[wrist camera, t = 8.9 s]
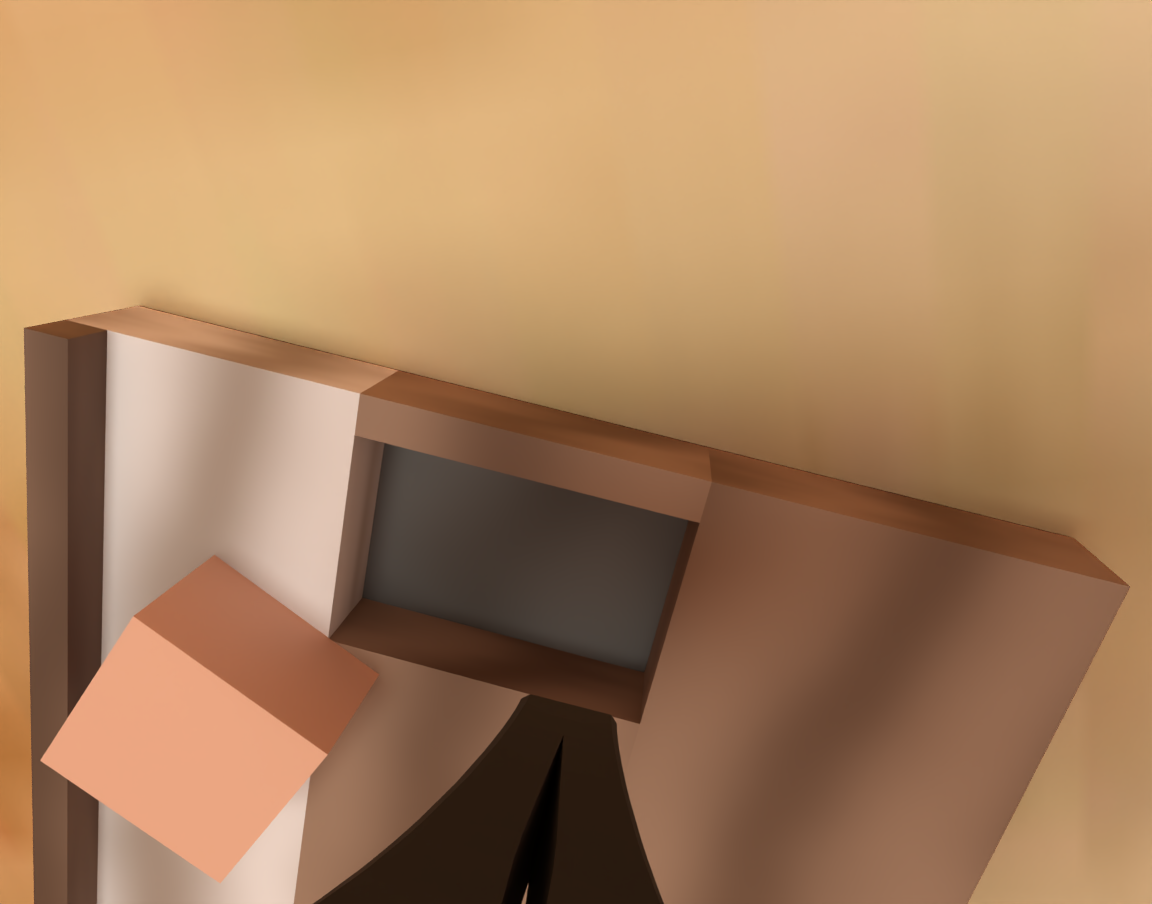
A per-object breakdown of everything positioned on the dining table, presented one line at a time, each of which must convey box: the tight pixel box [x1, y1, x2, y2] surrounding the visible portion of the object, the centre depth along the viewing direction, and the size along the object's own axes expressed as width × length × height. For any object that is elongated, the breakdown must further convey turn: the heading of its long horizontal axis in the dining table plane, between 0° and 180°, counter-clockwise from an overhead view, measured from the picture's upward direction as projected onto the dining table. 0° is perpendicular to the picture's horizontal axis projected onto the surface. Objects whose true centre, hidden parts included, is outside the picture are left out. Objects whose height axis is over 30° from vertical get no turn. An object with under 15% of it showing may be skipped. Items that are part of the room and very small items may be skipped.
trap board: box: [24, 306, 1130, 904], centre depth 21 cm, size 24×22×4 cm
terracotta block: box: [40, 555, 379, 883], centre depth 19 cm, size 5×5×3 cm
